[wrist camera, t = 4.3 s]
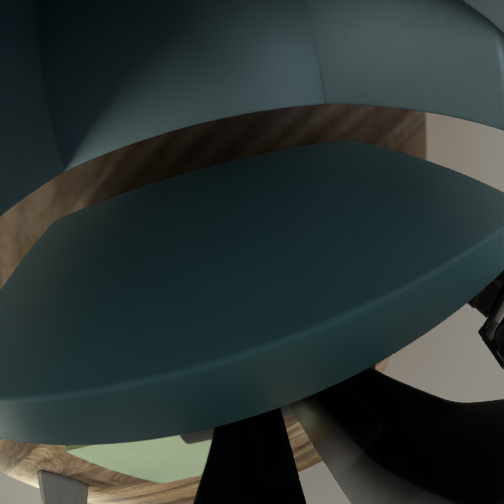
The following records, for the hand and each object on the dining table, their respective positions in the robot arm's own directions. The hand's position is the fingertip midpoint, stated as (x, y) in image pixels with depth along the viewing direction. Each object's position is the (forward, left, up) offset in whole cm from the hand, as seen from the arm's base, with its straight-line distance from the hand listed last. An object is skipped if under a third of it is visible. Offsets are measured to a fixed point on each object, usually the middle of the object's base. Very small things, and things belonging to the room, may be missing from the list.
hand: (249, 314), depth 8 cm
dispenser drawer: (0, -7, -3) cm, 7 cm away
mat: (+11, +19, -4) cm, 22 cm away
